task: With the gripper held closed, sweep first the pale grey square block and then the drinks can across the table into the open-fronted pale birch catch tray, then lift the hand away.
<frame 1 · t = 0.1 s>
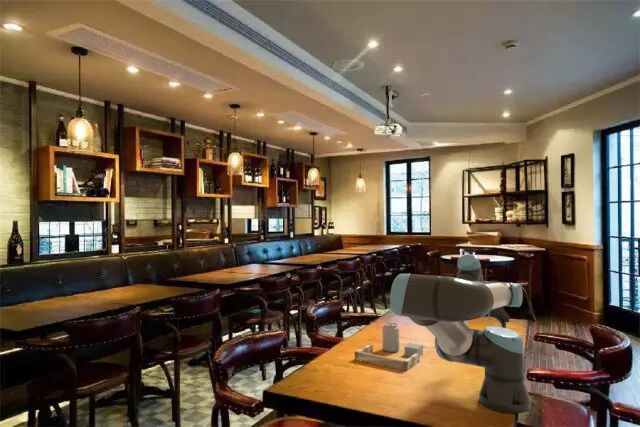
hand: (484, 330, 168), 15 cm above the table, tool tilted 35°, fingers open, 13 cm apart
catch tray: (386, 361, 178), on the table
pale grey square block: (413, 355, 187), on the table
can: (391, 350, 193), on the table
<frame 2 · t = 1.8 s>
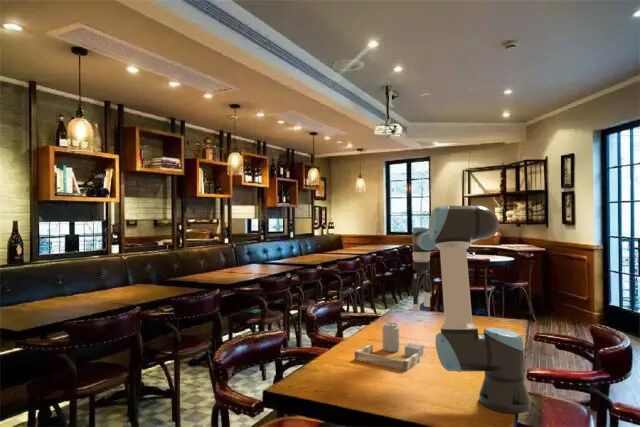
hand: (421, 308, 194), 18 cm above the table, tool pointing down, fingers open, 11 cm apart
nothing on the table moved.
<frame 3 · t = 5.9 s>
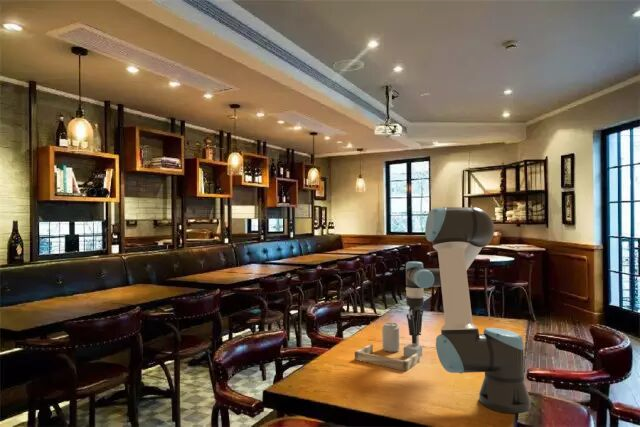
hand: (415, 350, 188), 1 cm above the table, tool pointing down, fingers closed
pale grey square block: (412, 356, 185), on the table, touching gripper
everything else where it was.
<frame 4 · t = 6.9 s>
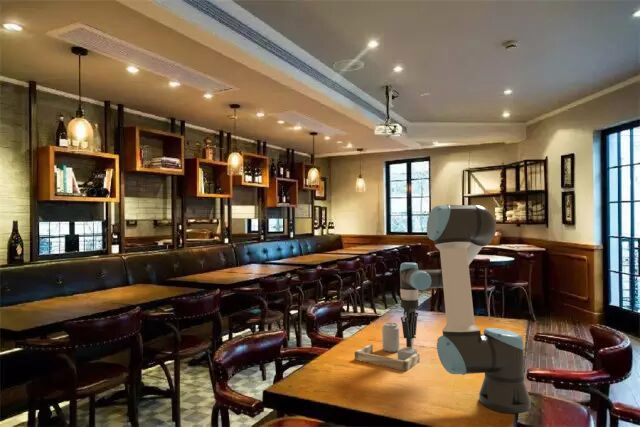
hand: (410, 353, 183), 2 cm above the table, tool pointing down, fingers closed
pale grey square block: (407, 359, 180), on the table, touching gripper
everything else where it was.
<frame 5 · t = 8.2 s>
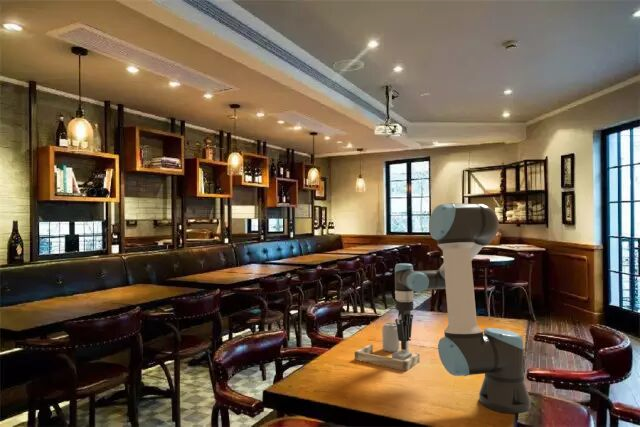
hand: (404, 356, 179), 2 cm above the table, tool pointing down, fingers closed
pale grey square block: (402, 363, 176), on the table, touching gripper
everything else where it was.
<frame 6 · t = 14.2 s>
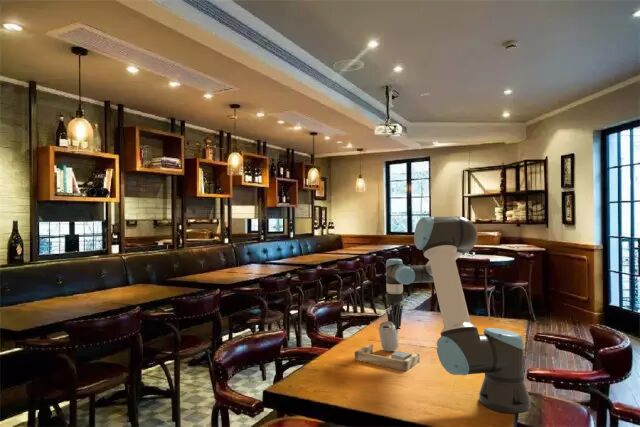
hand: (395, 343, 197), 2 cm above the table, tool pointing down, fingers closed
pale grey square block: (401, 363, 176), on the table
can: (390, 347, 193), point 1 cm above the table, touching gripper
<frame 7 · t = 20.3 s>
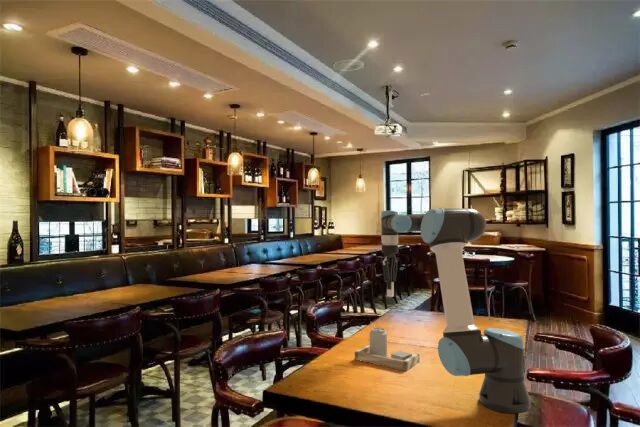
hand: (390, 296, 193), 24 cm above the table, tool pointing down, fingers closed
can: (378, 357, 184), on the table
everything else where it was.
at the end: can inside the target area (1.6 cm from its centre), on the table; pale grey square block inside the target area (0.7 cm from its centre), on the table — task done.
